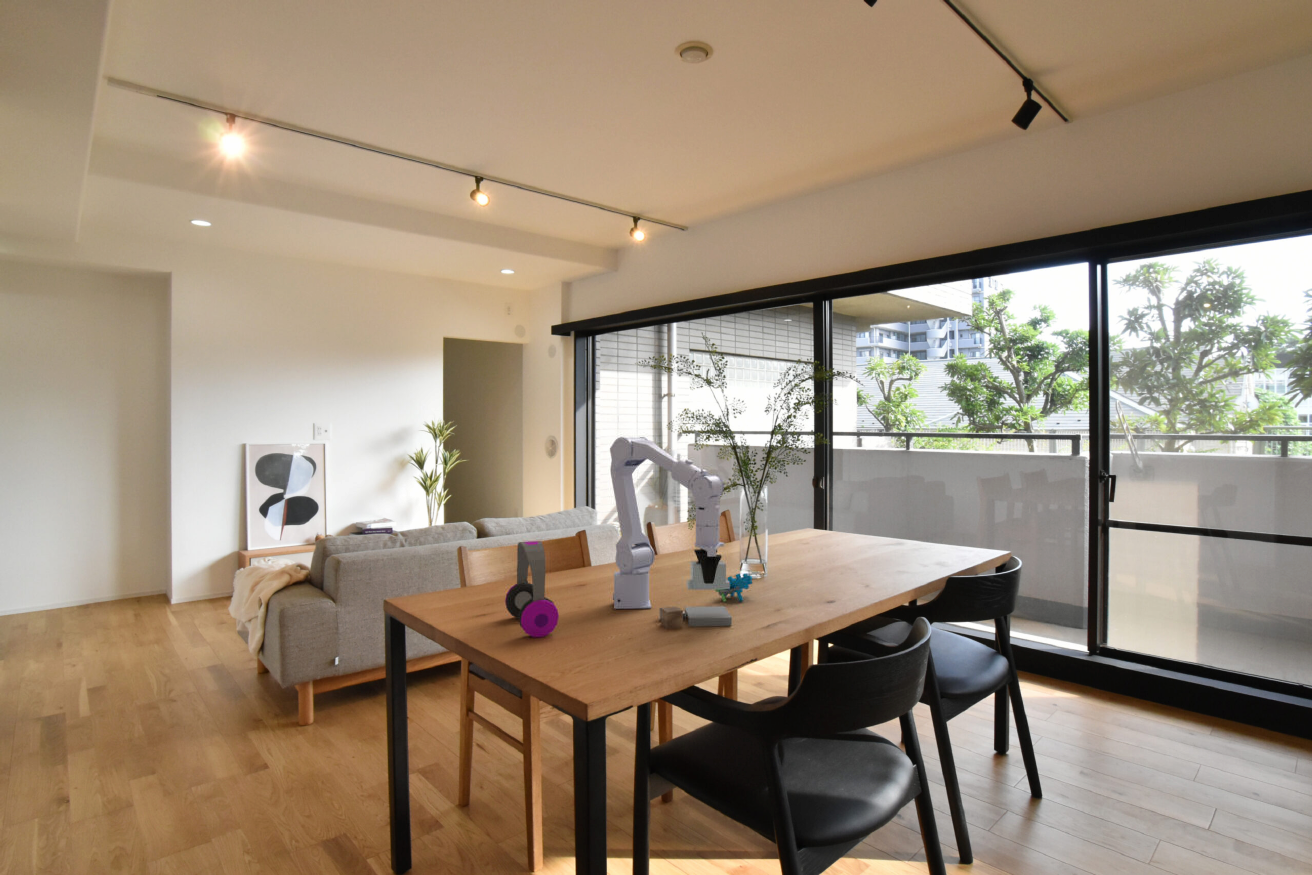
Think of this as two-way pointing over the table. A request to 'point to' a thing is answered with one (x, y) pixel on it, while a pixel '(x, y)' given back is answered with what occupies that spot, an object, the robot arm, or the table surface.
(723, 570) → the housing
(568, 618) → the table surface
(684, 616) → the bolt
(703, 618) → the stand
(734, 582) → the blue bumpy figure
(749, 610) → the table surface
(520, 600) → the headphones
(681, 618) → the walnut block
